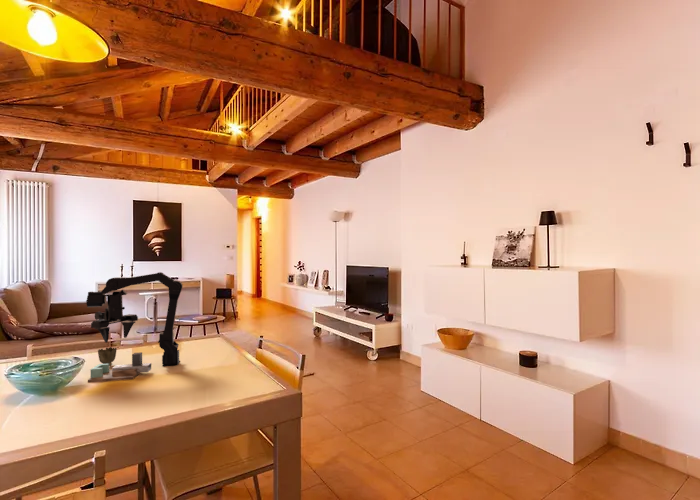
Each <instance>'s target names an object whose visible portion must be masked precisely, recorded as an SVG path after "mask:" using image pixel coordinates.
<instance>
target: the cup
mask: <svg viewBox="0 0 700 500" xmlns="http://www.w3.org/2000/svg"><path fill="white" fill-rule="evenodd" d="M117 350H118V349H117V347H112V346H110V347H105V349H103V348H100V349H98V350H97V354H98V361H99V362H100V364H109V367H111V366H112V365H113V362H115V359H116V356H117Z"/></svg>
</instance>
